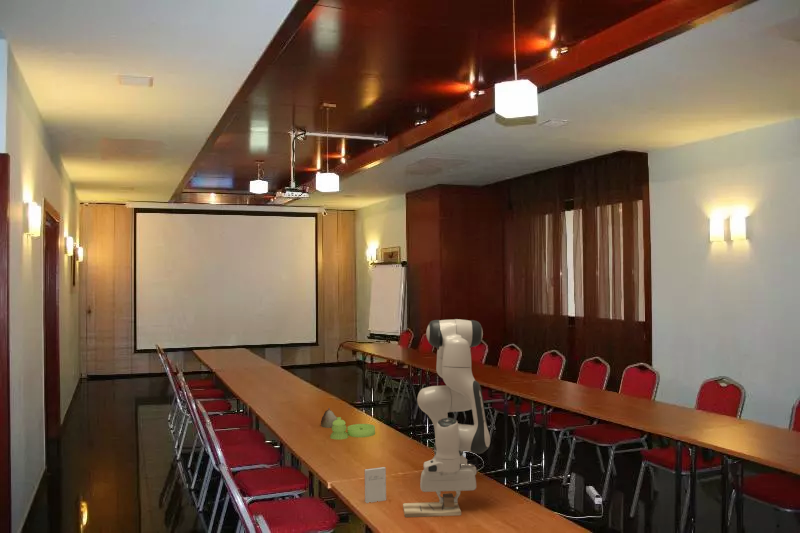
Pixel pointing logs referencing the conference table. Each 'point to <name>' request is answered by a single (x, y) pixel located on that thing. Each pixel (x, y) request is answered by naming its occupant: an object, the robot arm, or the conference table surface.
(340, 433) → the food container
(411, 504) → the board
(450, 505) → the block
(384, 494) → the hard drive
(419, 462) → the conference table surface
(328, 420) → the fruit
